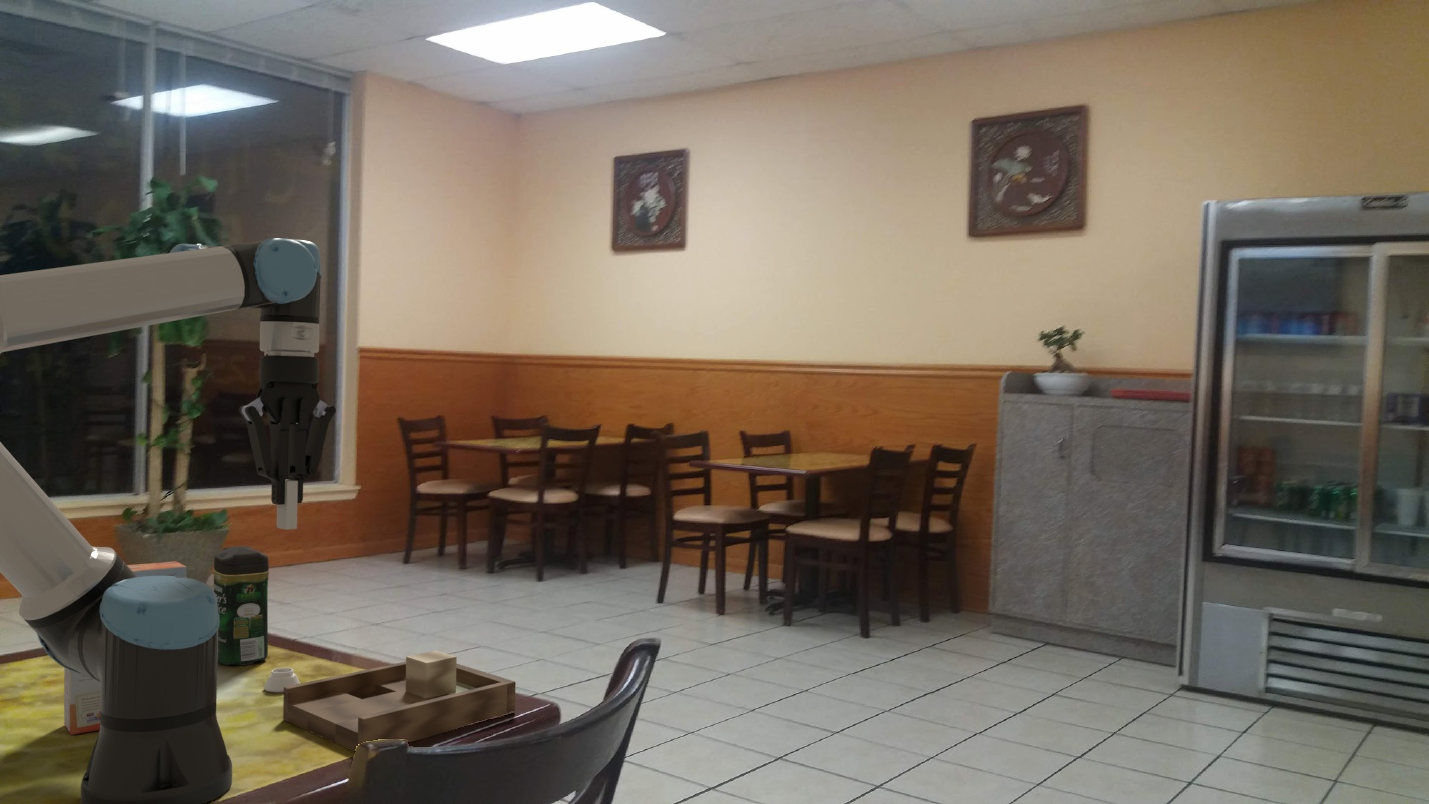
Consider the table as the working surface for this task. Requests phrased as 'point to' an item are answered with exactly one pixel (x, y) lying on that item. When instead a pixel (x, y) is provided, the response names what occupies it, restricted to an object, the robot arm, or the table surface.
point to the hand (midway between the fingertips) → (286, 528)
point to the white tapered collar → (280, 680)
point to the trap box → (392, 705)
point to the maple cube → (431, 674)
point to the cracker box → (86, 690)
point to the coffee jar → (242, 605)
